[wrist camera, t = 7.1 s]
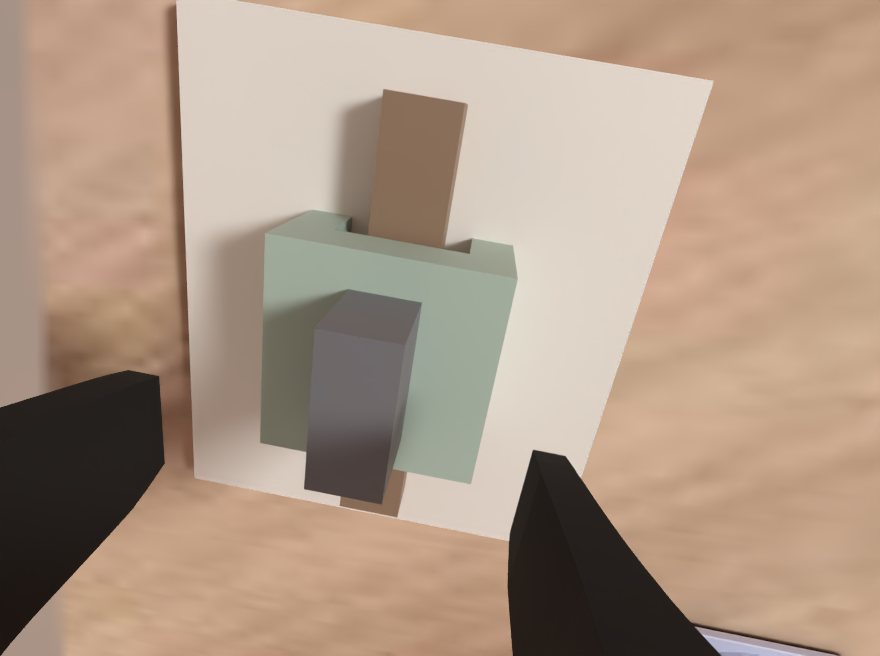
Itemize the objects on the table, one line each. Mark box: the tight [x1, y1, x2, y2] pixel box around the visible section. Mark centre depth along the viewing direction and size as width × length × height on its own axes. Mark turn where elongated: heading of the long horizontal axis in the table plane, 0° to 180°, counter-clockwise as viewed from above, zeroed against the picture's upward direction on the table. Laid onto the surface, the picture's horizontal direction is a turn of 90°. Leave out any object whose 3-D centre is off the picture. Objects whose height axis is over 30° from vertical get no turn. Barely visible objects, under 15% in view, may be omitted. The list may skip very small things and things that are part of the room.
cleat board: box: [176, 0, 714, 541], centre depth 16 cm, size 16×14×2 cm
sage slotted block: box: [260, 210, 518, 505], centre depth 13 cm, size 6×6×6 cm
